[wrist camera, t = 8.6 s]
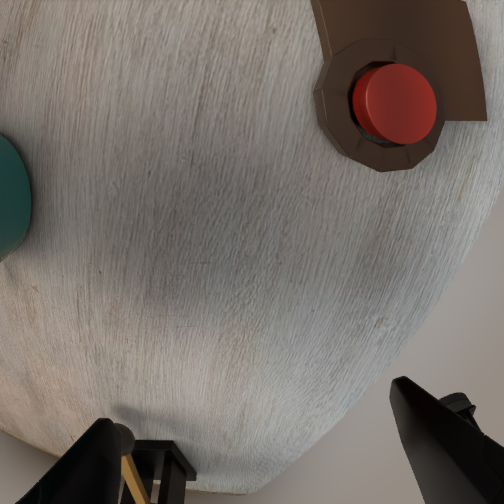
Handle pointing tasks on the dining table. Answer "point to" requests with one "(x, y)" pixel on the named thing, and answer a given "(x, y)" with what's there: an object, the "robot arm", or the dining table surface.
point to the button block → (395, 52)
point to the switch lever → (131, 467)
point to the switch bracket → (160, 471)
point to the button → (395, 104)
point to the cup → (13, 199)
